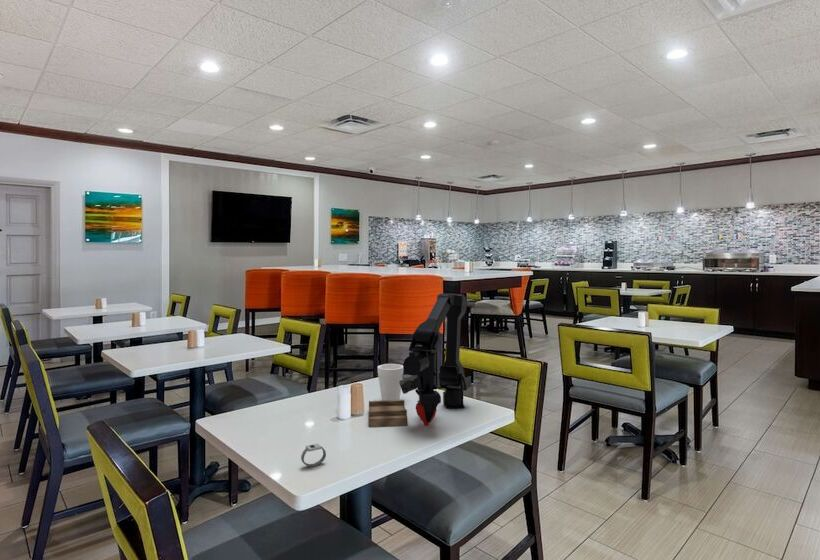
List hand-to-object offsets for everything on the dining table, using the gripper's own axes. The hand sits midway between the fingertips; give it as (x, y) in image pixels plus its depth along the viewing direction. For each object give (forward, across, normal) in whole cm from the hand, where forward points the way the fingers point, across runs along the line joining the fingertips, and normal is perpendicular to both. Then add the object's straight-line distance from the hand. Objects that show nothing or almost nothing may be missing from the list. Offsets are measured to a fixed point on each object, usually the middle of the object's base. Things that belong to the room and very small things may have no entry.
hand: (426, 417), depth 147 cm
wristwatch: (+2, +25, -32) cm, 41 cm away
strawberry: (+3, 0, 0) cm, 3 cm away
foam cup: (+3, -26, -10) cm, 28 cm away
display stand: (+3, -9, -12) cm, 15 cm away
